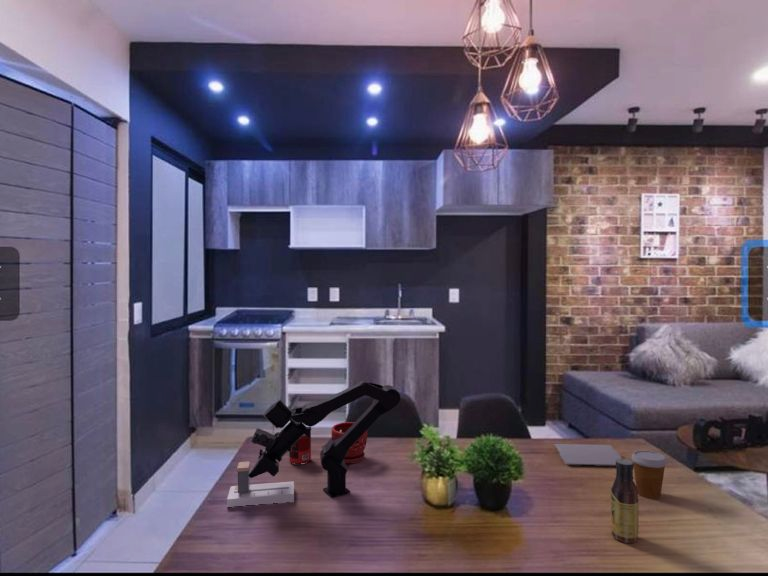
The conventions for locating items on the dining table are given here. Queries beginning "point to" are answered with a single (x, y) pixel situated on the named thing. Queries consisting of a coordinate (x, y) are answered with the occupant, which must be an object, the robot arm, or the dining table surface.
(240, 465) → the slider handle
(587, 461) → the book
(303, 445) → the canned food
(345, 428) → the plant pot
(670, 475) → the dining table surface
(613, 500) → the sauce bottle
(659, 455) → the disposable coffee cup
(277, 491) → the dimmer panel
